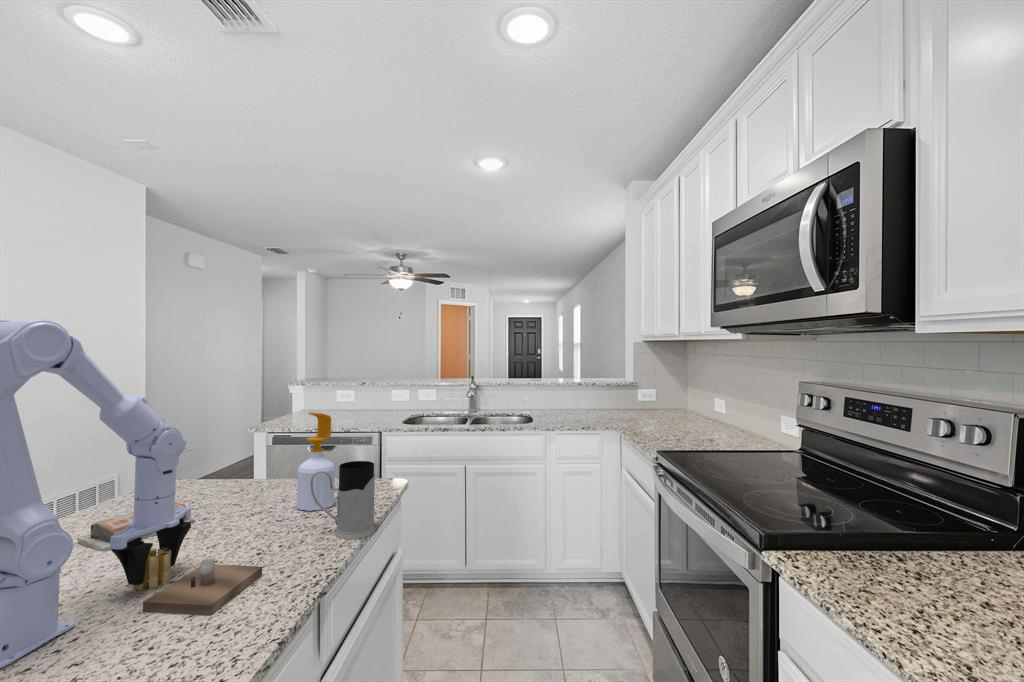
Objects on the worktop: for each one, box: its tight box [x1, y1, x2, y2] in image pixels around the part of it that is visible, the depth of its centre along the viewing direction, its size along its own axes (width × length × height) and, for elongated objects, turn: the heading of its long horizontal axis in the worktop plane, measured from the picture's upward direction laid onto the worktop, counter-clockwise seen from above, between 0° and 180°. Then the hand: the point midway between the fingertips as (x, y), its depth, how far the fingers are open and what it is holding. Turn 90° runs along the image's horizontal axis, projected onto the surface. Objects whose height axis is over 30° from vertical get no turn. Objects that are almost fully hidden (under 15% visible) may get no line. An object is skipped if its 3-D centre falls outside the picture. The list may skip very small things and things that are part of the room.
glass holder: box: [311, 460, 377, 540], centre depth 105 cm, size 9×14×15 cm, turn 99°
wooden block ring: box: [132, 547, 172, 591], centre depth 81 cm, size 5×5×5 cm
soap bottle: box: [296, 412, 336, 512], centre depth 122 cm, size 9×9×25 cm
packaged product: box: [76, 501, 196, 552], centre depth 103 cm, size 18×5×10 cm
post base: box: [142, 558, 263, 616], centre depth 78 cm, size 13×11×5 cm
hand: (152, 574), depth 81 cm, fingers open, 6 cm apart
